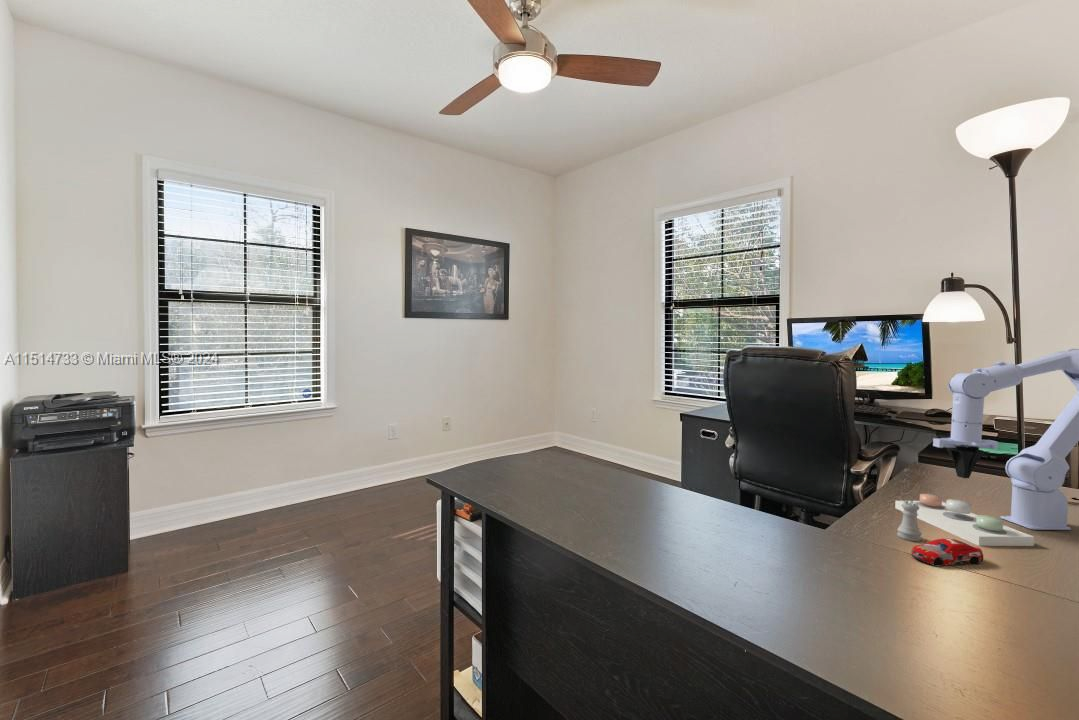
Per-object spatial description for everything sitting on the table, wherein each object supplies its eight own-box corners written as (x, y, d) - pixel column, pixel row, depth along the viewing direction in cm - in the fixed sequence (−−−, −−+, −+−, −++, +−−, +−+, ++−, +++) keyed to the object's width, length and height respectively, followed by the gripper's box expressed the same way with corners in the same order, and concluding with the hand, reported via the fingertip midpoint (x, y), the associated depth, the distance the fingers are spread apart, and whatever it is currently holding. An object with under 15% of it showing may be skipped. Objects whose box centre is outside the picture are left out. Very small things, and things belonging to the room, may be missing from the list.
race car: (927, 568, 95) (928, 548, 95) (903, 556, 100) (904, 536, 100) (990, 566, 96) (991, 546, 96) (963, 554, 101) (964, 535, 101)
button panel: (940, 508, 130) (940, 500, 130) (1033, 546, 106) (1034, 535, 106) (895, 508, 129) (895, 499, 129) (978, 545, 105) (979, 535, 105)
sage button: (989, 524, 112) (990, 515, 112) (1008, 531, 107) (1009, 522, 107) (970, 523, 112) (971, 515, 112) (988, 531, 107) (989, 522, 107)
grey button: (959, 507, 120) (959, 499, 120) (975, 513, 115) (976, 505, 115) (941, 507, 120) (941, 499, 119) (957, 513, 115) (957, 505, 115)
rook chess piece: (926, 543, 106) (927, 506, 106) (902, 541, 107) (904, 504, 107) (915, 535, 111) (916, 499, 111) (892, 533, 112) (894, 498, 111)
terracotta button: (931, 501, 128) (932, 493, 128) (946, 507, 123) (946, 499, 123) (915, 501, 128) (915, 493, 127) (929, 506, 123) (929, 498, 123)
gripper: (951, 423, 117) (947, 480, 117) (1011, 425, 117) (1007, 482, 118) (927, 419, 124) (924, 473, 124) (984, 421, 124) (980, 474, 125)
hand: (963, 477), depth 121 cm, fingers closed
